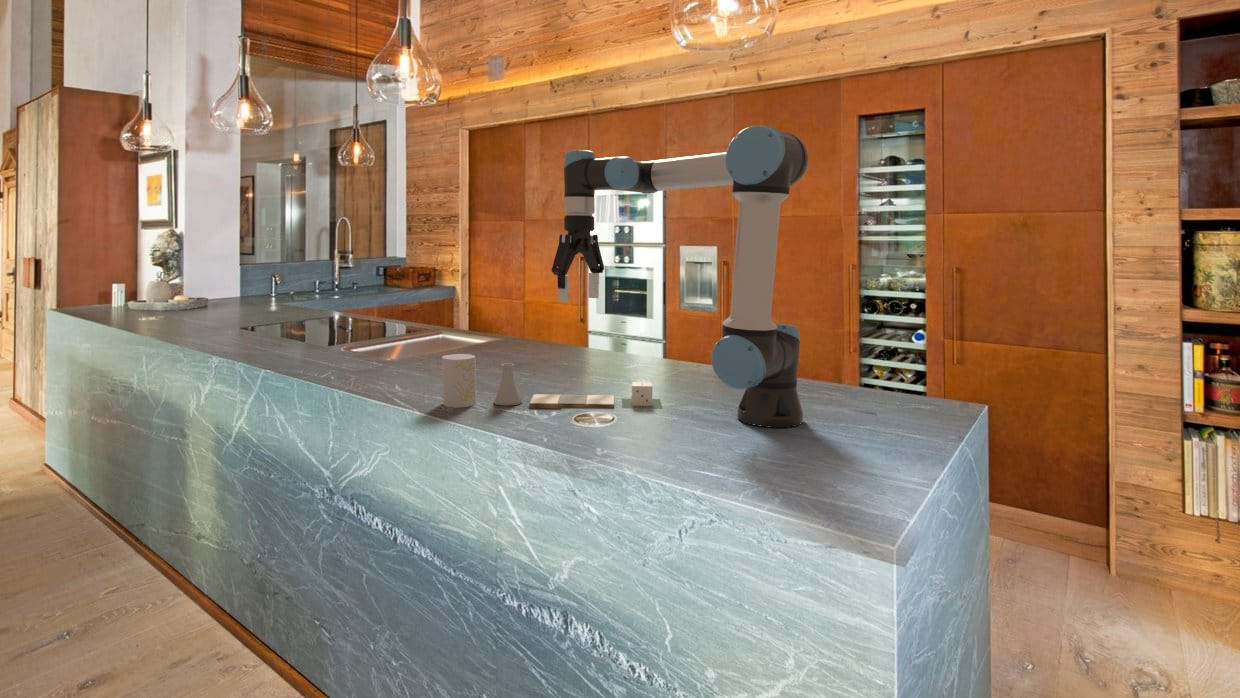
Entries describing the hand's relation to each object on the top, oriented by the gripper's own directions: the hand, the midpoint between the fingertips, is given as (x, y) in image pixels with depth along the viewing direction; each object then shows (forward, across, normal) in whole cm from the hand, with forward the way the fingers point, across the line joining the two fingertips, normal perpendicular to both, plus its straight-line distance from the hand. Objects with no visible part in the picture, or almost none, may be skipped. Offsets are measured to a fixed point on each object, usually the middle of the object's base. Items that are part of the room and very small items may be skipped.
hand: (578, 300), depth 177 cm
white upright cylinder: (+26, +20, -23) cm, 40 cm away
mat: (+26, -5, +16) cm, 31 cm away
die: (+26, -5, +16) cm, 31 cm away
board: (+26, +4, +1) cm, 26 cm away
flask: (+26, +13, -13) cm, 32 cm away
